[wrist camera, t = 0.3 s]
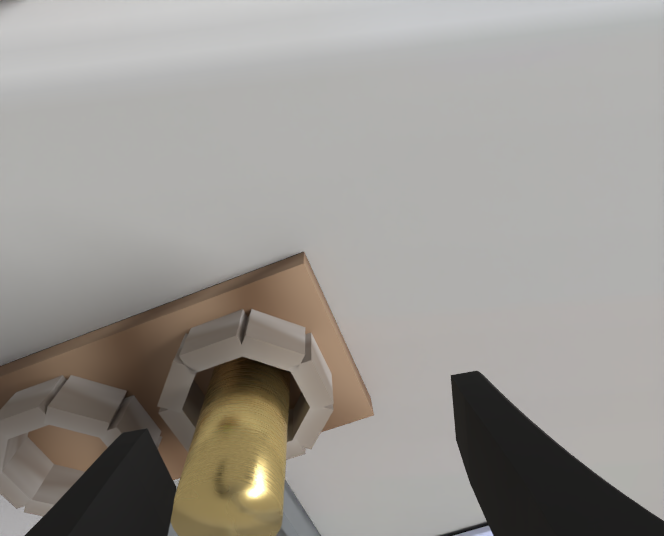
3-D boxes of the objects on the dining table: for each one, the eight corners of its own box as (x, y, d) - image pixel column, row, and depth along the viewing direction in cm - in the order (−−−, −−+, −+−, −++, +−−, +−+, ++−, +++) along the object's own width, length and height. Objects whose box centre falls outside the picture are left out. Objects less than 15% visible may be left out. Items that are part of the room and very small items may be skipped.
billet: (302, 393, 21) (299, 536, 15) (234, 416, 22) (203, 564, 15) (271, 335, 20) (253, 466, 13) (198, 361, 20) (147, 500, 14)
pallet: (304, 251, 19) (303, 286, 16) (370, 398, 23) (379, 447, 20) (-40, 381, 21) (-95, 432, 19) (72, 496, 25) (42, 553, 22)
